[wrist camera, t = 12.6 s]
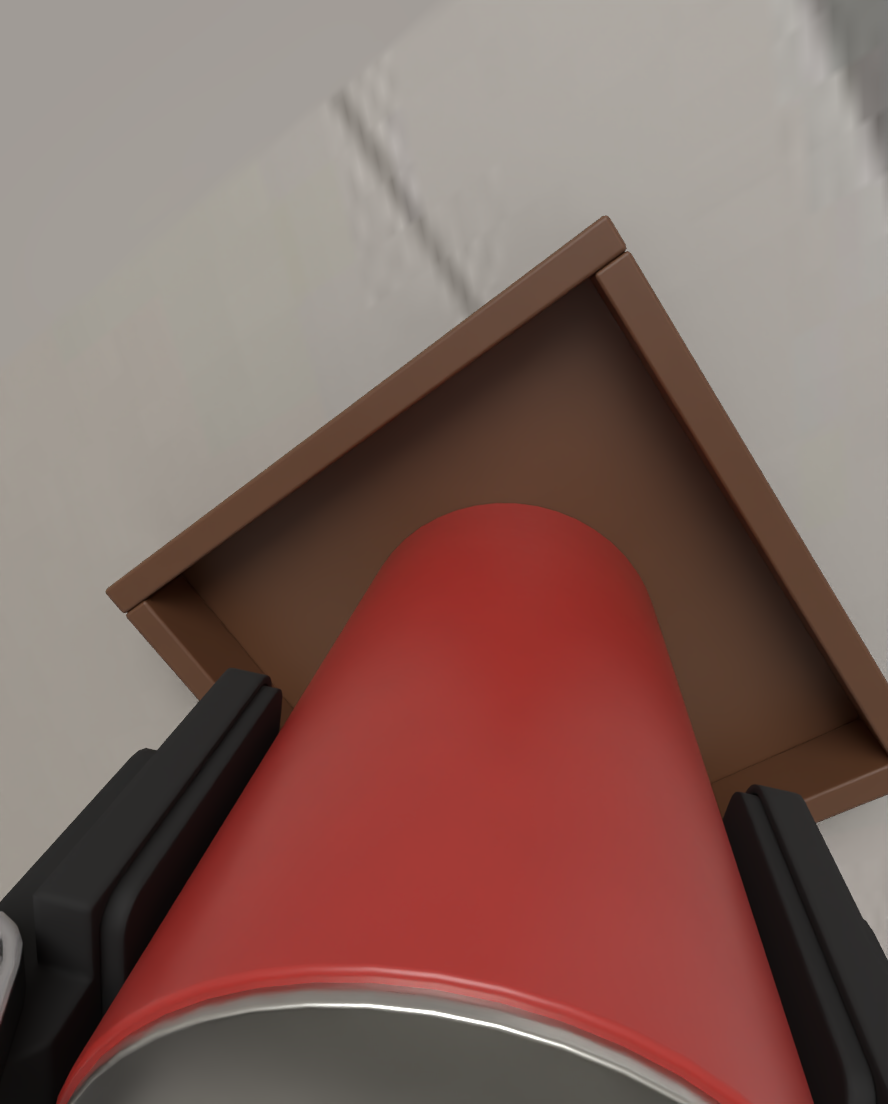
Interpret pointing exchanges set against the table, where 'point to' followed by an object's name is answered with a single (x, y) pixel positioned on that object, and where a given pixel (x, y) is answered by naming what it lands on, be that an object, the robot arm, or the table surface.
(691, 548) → the tray
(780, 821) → the robot arm
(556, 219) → the table surface
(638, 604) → the can
